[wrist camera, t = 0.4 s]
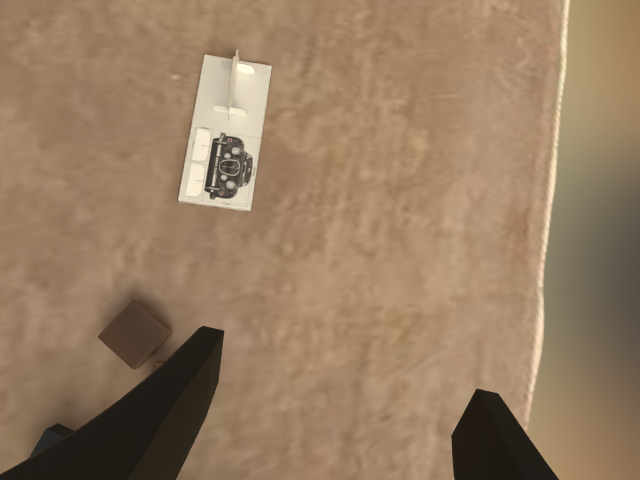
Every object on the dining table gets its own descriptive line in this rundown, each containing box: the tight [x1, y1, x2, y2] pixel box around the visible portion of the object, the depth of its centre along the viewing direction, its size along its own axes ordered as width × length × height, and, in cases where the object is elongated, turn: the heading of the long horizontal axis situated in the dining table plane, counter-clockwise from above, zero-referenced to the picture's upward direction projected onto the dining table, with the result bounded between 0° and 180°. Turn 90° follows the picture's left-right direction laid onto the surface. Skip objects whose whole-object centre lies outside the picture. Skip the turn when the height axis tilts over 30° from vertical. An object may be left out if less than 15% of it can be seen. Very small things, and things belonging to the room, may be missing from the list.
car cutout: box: [178, 49, 272, 212], centre depth 40 cm, size 15×7×4 cm, turn 174°
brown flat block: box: [98, 300, 173, 369], centre depth 37 cm, size 4×4×2 cm
